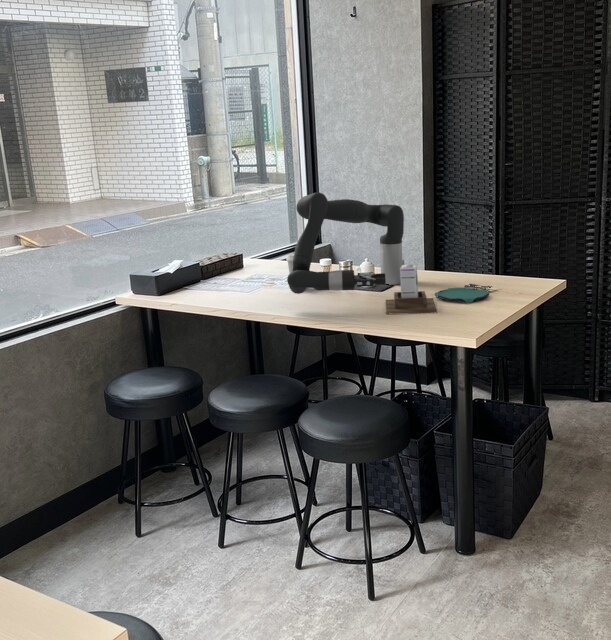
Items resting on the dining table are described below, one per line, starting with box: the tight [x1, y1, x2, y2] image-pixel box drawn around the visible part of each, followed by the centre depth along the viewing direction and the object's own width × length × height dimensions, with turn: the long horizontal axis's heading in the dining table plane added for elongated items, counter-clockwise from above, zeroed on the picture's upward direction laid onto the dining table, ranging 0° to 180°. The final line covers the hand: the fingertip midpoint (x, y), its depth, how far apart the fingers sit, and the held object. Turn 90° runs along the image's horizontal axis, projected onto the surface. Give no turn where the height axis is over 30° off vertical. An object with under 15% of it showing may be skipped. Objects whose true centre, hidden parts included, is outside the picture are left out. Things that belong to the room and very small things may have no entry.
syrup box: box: [400, 264, 419, 298], centre depth 285 cm, size 6×6×14 cm
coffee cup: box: [285, 252, 308, 290], centre depth 328 cm, size 10×10×15 cm
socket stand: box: [385, 290, 438, 315], centre depth 286 cm, size 18×18×5 cm
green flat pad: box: [434, 283, 493, 304], centre depth 301 cm, size 20×30×2 cm, turn 138°
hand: (385, 278), depth 285 cm, fingers open, 8 cm apart
